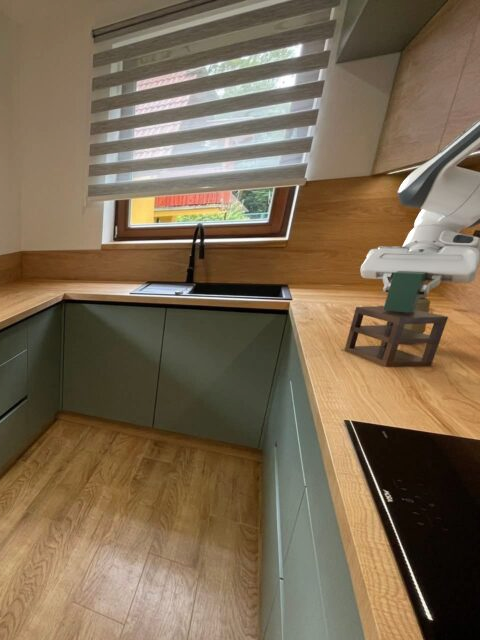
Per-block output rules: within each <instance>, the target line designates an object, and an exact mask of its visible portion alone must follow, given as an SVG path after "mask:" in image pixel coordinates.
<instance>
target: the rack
mask: <svg viewBox="0 0 480 640" xmlns="http://www.w3.org/2000/svg"><path fill="white" fill-rule="evenodd" d="M383 308H384V305H381V306H380V305H378V306H356V307H355V309H354V314H353V318H352V321H351V324H350V328H349V331H348V336H347V339H346V343H345V347H344V351H345V352H347V353H350V354H353V355H354V356H358V357H360V358H363V359H365V360H368V361H370V362H373V363H375V364H377V365H381V366H383V367H384V368H385V367H389V368H390V367H431V366H432V364H433V361H434V359H435V356H436V353H437V350H438V347H439V344H440V342H441V339H442V336H443V333H444V331H445V328H446V325H447V322H448V319H449V316H447V315H442V314H437V313H432V312H429V311H428V312H424V311H419V310H414V311H412V312H401V311H391V310H383ZM364 316H366V317H369V318H374V319H378V320H381V321H385V322H386V324H387V325H386V324H378V325H377V324H375V325H374V324H373V325H362V322H363V320H364V319H363V318H364ZM405 324H426V325H428V324H429V325H431V324H432V328H431V329H430V332H429V334H427V333H419V332H416V331H412V330H409V329H405V328H404V326H405ZM360 334H361V335H363V336H366V337H370V338H373V339H375V340H378V341H381V342H380V345H356V343H357V340H358V336H359V335H360ZM410 344H411V345H412V344H413V345H414V344H416V345H418V344H426V345H425V348H424V350H423V354H422V357H420V356H418V355H415V354H412V353H409V352H406V351H402V350H399V349H398V347H399V345H410Z"/></svg>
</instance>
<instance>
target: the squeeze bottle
mask: <svg viewBox="0 0 480 640" xmlns="http://www.w3.org/2000/svg"><path fill="white" fill-rule="evenodd" d="M428 295H429V293H428V294H427V295H420V298H419V301H418V304H417V307H416V309H415V310H419V311H424V312H428V313H429V310H430V306H431V301H430V299H428ZM385 325H387V323H386V324H385ZM404 328H405V329H409V330H412V331H416V332H419V333H423V334H425V331H426V328H427V324H405V326H404Z"/></svg>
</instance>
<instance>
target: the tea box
mask: <svg viewBox="0 0 480 640" xmlns="http://www.w3.org/2000/svg"><path fill="white" fill-rule="evenodd" d="M426 276H427V272H411V271H398V272H395V273H394V275H393V278H392V280H391V281H390V283H391V285H390V288H389V292H387V295H386V299H385V302H384V305H383V306H384V308H383V310H391V311H401V312H412V311H414V310H415V309H416V307H417V304H418V301H419V298H420V295H419V289H420V288H421V285H425V282H426V281H425V279H426Z"/></svg>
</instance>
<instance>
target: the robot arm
mask: <svg viewBox="0 0 480 640" xmlns="http://www.w3.org/2000/svg"><path fill="white" fill-rule="evenodd" d="M479 148H480V117H479V118H478V119H477V120H475V121H474V122H473V123H472V124H471V125H470V126H468V127H467V128H466V129H465V130H464V131H462V132H461V133H460V134H459V135H457V137H455V138H454V139H453V140H451V141H450V142H449V143H448V144H446V146H445V147H443V148H442V149H441V150H439V151H438V152H437V153H436V154H434V155H433V156H432V157H431V158H429V159H427V160H426V161H425V162H423V163H422V164H421V165H419V166H418V167H417V168H416V169H415V170H413V171H411V172H410V174H408V175H407V177H406V178H404V180H403V181H402V183H401V184H400V186H399V187H398V190H397V196H398V200H399V201H400V204H401V205H402V206H403V207H405V208H412V209H415V210H420V211H419V213H418V215H417V216H416V219H415V220H414V223H413V228H412V229H410V231H409V232H408V233H407V236H406V238H405V240H404V242H403V244H402V245H392V246H387V245H380V246H378V247H375V248H371V249H370V250H369V251H368V253H367V255H366V258H365V260H364V261H363V263H362V264H361V266H360V271H359V272H360V276H361V277H362V278H363V279H371V280H372V279H373V280H382V283H383V287H382V292H383V293H388V292H389V288H390V285H391V282H392V278H393V275H394V273H395V272H398V271H411V272H427V276H426V279H425V282H428V283H427V284H424V285H421V288H420V289H419V295H427V294H428V295H429V292H430V291H431V290H432V289H434V288H436V287H437V286H440V285H441V283H452V284H469V283H472V282H474V281H475V280H476V278H477V275H478V272H479V268H480V237H478V236H474V235H468V234H463V233H460V232H461V231H462V230H463V229H465V230H467V229H470V228H472V227H476V226H478V225H480V171H476V170H473V169H468V168H464V167H460V166H457V165H459V164H460V163H462V162H463V161H464V160H465V159H466V158H468V157H469V156H470V155H472V154H473V153H474V152H475V151H477V150H478V149H479ZM428 295H427V296H428Z"/></svg>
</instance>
